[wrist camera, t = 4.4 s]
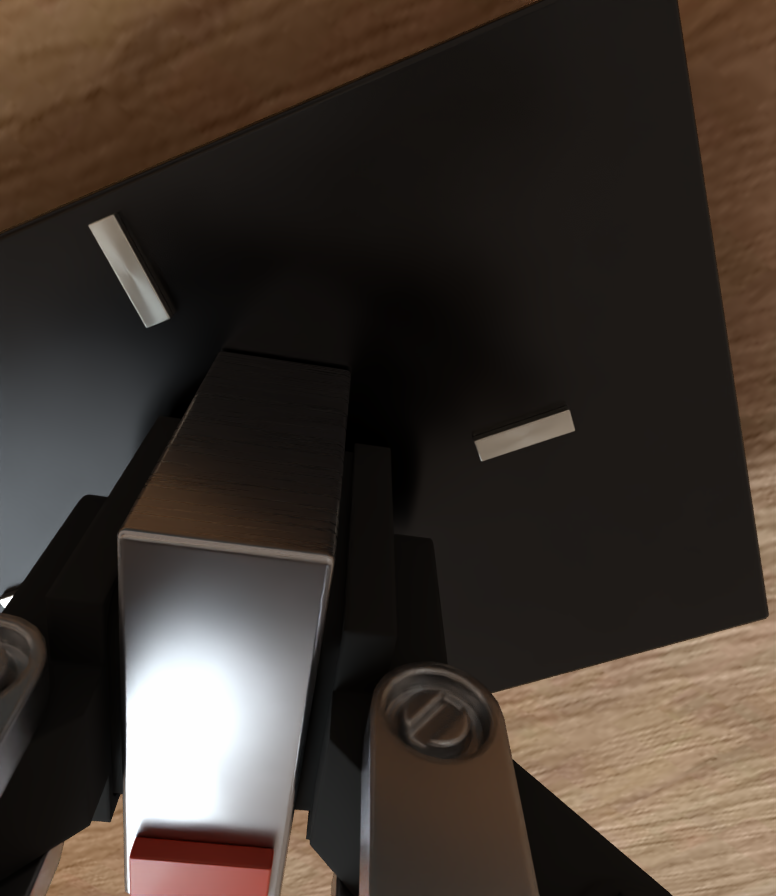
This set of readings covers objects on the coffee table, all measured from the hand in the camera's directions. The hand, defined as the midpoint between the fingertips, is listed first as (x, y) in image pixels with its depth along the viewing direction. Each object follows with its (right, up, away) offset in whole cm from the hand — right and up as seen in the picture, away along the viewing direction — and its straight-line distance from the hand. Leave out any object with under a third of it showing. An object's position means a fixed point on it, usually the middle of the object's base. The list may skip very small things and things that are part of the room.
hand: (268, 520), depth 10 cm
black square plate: (0, +2, +3) cm, 3 cm away
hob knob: (0, 0, 0) cm, 0 cm away
